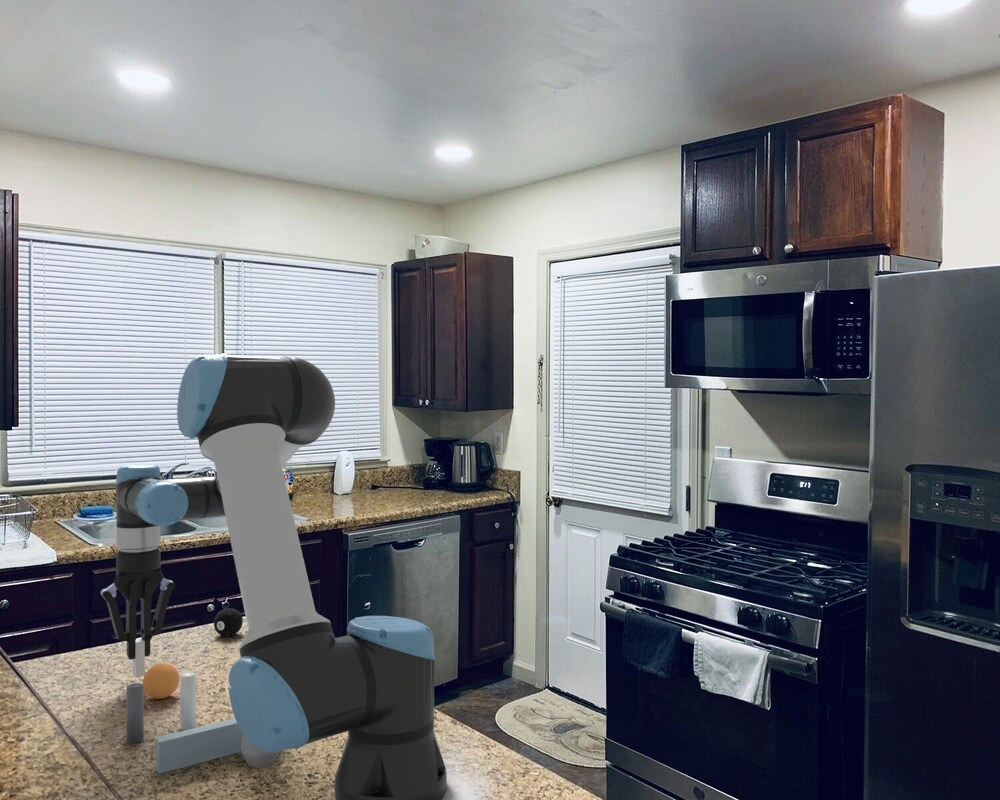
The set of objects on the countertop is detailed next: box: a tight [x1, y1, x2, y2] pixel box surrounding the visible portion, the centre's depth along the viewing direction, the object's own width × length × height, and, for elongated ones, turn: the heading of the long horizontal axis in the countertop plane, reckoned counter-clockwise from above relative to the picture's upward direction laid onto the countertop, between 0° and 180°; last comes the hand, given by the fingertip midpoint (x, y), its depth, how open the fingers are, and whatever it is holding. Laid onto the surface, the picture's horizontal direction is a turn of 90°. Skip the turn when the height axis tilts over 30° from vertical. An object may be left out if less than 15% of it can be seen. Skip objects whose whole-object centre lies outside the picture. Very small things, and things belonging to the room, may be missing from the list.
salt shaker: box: [240, 734, 280, 769], centre depth 118 cm, size 6×6×13 cm
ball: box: [142, 662, 180, 700], centre depth 143 cm, size 6×6×6 cm
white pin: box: [179, 672, 197, 731], centre depth 130 cm, size 2×2×8 cm
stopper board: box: [154, 717, 243, 775], centre depth 120 cm, size 2×18×4 cm, turn 127°
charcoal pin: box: [126, 682, 145, 744], centre depth 125 cm, size 2×2×8 cm
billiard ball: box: [213, 607, 244, 637], centre depth 180 cm, size 6×6×6 cm
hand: (138, 674), depth 150 cm, fingers closed
